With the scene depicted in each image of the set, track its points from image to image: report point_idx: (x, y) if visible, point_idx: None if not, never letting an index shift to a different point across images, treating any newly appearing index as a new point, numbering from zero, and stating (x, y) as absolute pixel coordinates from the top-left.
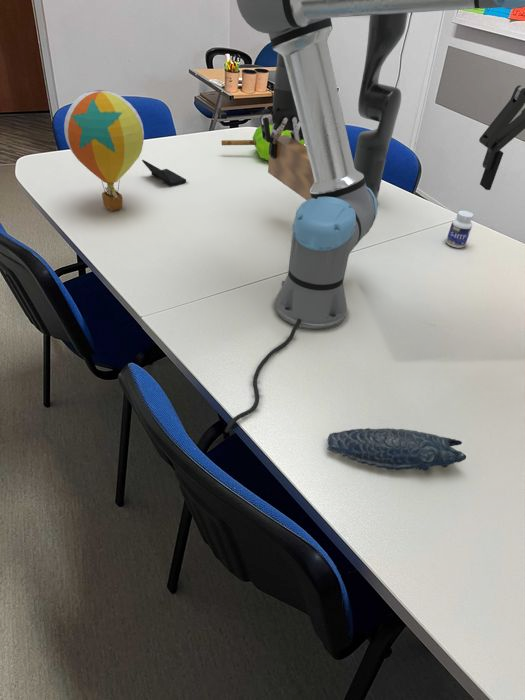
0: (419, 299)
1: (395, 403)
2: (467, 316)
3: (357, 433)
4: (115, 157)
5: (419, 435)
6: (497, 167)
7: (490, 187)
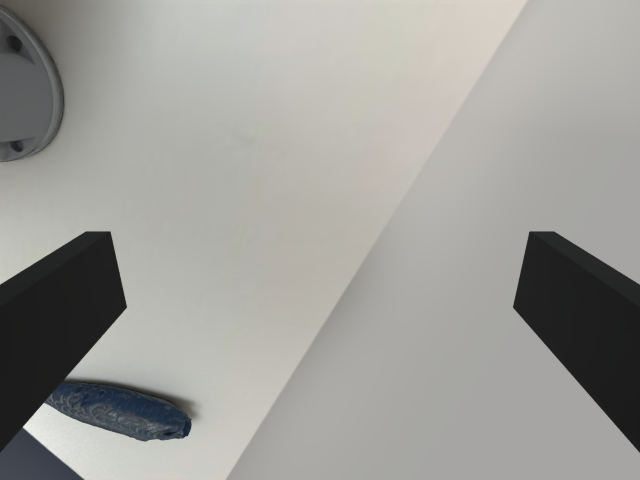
0: (247, 34)
1: (138, 326)
2: (337, 109)
3: (61, 405)
4: None
5: (127, 428)
6: (41, 397)
7: (116, 314)
